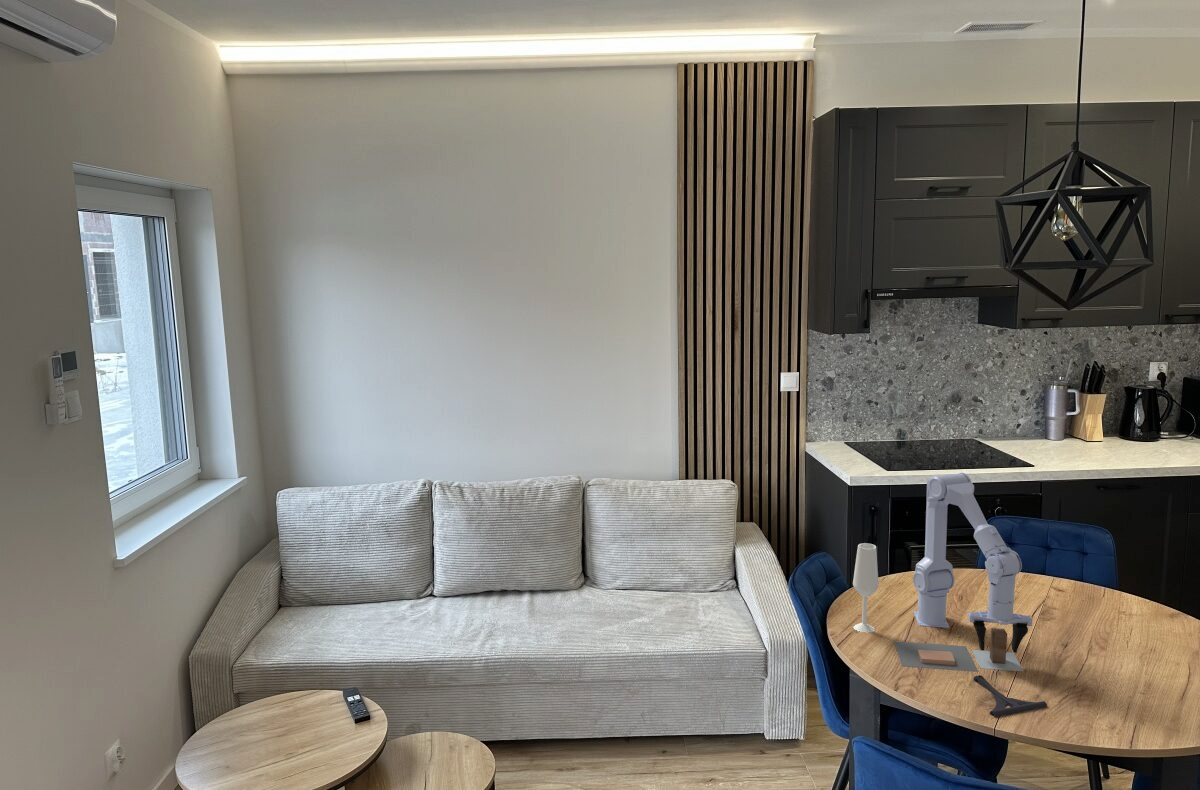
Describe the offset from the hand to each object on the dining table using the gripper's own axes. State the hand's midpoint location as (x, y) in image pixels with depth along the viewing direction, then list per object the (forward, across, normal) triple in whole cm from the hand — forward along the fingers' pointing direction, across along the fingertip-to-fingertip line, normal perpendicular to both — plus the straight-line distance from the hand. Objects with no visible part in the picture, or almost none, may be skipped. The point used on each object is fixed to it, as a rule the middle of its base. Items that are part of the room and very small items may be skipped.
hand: (997, 649), depth 217 cm
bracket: (+4, -4, -18) cm, 19 cm away
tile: (+2, -15, 0) cm, 15 cm away
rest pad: (+3, 0, 0) cm, 3 cm away
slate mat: (+3, -15, 0) cm, 15 cm away
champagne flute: (+3, -31, +14) cm, 34 cm away
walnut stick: (+3, 0, 0) cm, 3 cm away
